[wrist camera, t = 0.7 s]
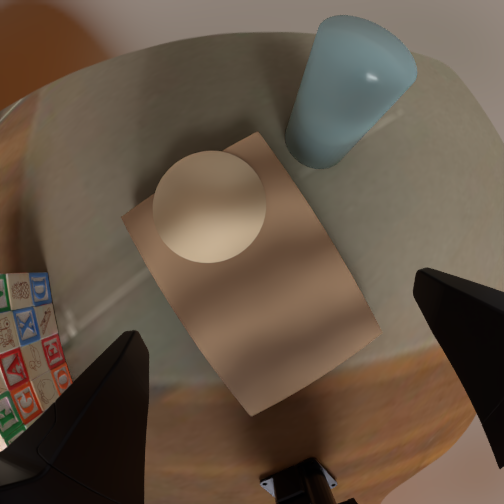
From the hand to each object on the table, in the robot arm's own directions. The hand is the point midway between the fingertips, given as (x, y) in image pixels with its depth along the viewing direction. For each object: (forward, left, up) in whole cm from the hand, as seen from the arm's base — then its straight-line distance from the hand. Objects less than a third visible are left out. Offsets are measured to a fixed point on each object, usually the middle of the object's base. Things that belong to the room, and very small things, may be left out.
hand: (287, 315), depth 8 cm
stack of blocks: (+3, +24, -14) cm, 28 cm away
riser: (+1, 0, -14) cm, 14 cm away
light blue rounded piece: (+8, -11, -14) cm, 19 cm away
